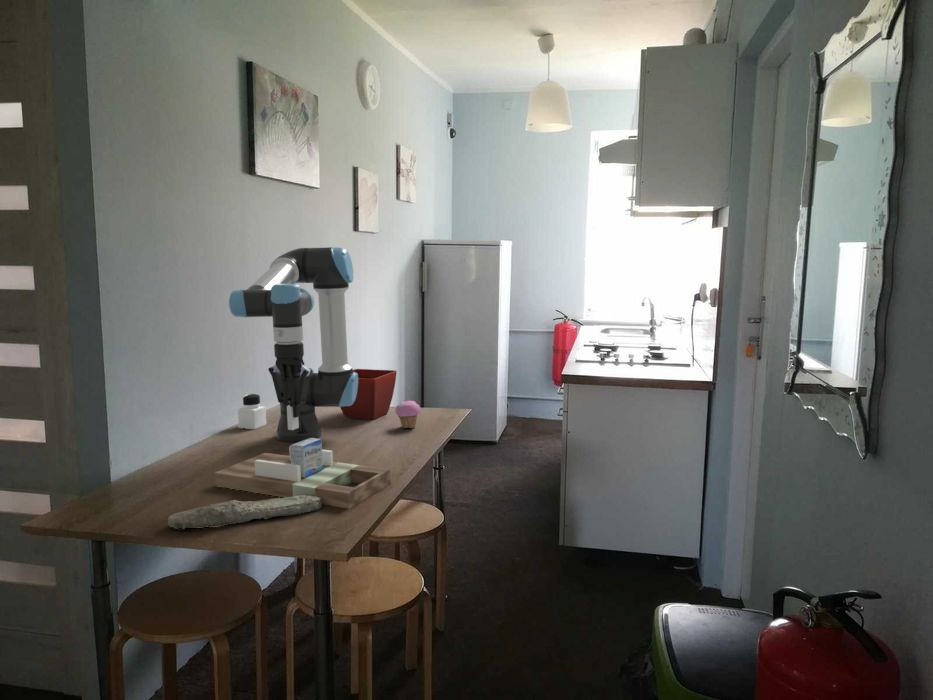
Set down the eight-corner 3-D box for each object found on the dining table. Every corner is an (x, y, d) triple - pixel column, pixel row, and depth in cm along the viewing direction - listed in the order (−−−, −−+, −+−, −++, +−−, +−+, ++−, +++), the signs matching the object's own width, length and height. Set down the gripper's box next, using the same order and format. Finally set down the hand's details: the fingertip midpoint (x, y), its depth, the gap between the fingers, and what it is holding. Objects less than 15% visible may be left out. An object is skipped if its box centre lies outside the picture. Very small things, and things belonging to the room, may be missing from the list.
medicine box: (304, 478, 174) (303, 446, 172) (291, 476, 176) (289, 444, 174) (323, 469, 181) (322, 438, 180) (310, 467, 183) (309, 437, 181)
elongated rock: (325, 519, 160) (318, 507, 170) (325, 498, 160) (319, 487, 169) (166, 535, 147) (168, 522, 157) (166, 512, 147) (168, 500, 156)
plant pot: (331, 419, 256) (329, 376, 253) (357, 408, 273) (355, 368, 271) (375, 423, 249) (373, 378, 246) (399, 412, 266) (397, 370, 264)
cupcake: (421, 424, 245) (420, 398, 244) (420, 430, 237) (419, 403, 235) (396, 425, 245) (396, 398, 244) (395, 431, 236) (394, 403, 235)
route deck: (265, 465, 198) (265, 452, 198) (390, 483, 181) (390, 469, 180) (215, 486, 180) (214, 472, 180) (349, 508, 163) (348, 493, 162)
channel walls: (292, 459, 191) (291, 445, 190) (333, 464, 185) (332, 450, 185) (255, 475, 177) (254, 460, 176) (298, 481, 171) (297, 466, 171)
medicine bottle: (266, 425, 248) (265, 393, 246) (254, 429, 241) (253, 397, 240) (250, 423, 250) (248, 392, 249) (238, 428, 244) (236, 396, 242)
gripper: (259, 343, 176) (264, 429, 179) (299, 345, 170) (304, 434, 174) (278, 339, 182) (283, 423, 186) (317, 341, 177) (321, 427, 181)
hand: (293, 428), depth 180 cm, fingers closed
